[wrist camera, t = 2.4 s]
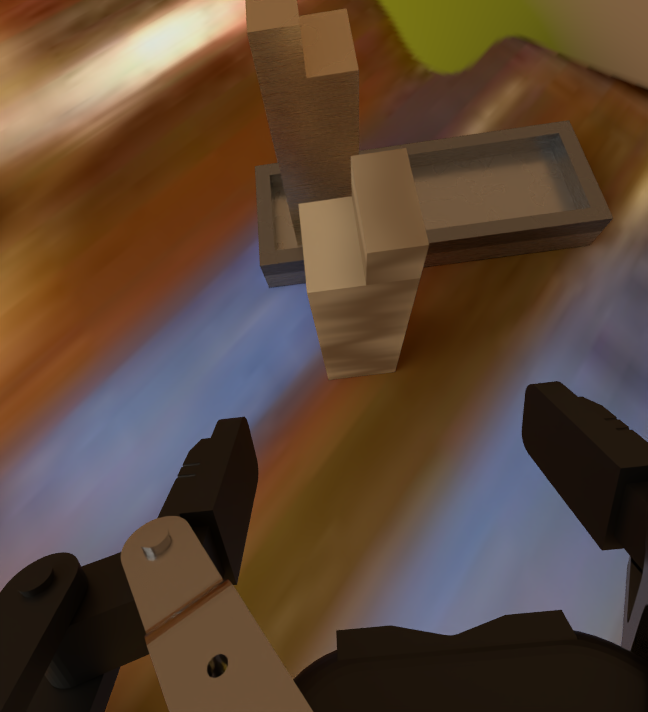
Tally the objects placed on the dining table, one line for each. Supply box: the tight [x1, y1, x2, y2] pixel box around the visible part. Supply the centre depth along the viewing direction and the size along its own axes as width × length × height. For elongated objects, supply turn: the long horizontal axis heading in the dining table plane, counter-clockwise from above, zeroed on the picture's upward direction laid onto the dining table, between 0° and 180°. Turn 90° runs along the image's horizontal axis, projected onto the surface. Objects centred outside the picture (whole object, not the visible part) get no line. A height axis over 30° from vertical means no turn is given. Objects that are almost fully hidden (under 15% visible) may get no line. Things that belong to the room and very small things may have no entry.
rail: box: [246, 0, 613, 288], centre depth 22 cm, size 22×8×14 cm, turn 96°
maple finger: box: [299, 148, 429, 380], centre depth 20 cm, size 4×4×13 cm
